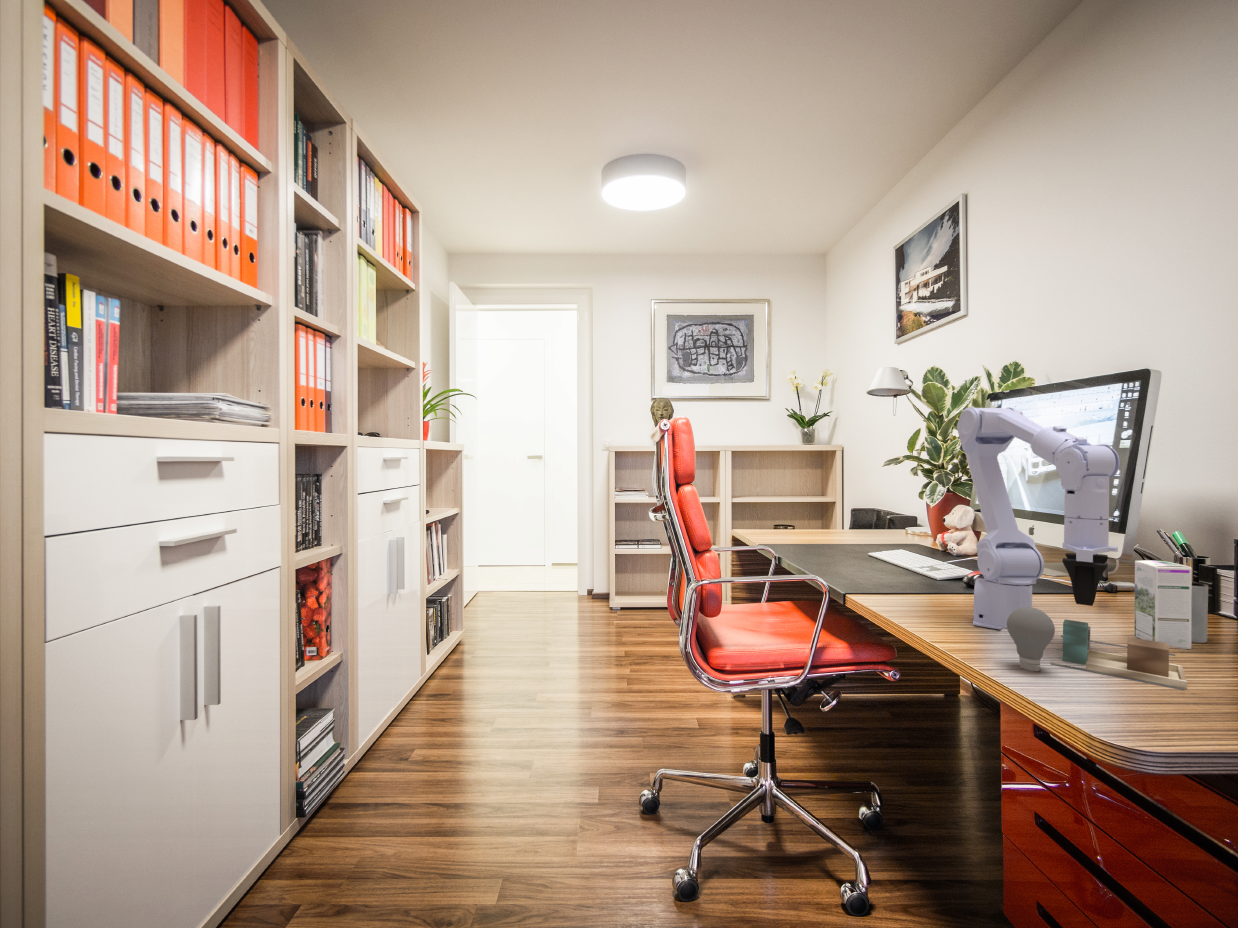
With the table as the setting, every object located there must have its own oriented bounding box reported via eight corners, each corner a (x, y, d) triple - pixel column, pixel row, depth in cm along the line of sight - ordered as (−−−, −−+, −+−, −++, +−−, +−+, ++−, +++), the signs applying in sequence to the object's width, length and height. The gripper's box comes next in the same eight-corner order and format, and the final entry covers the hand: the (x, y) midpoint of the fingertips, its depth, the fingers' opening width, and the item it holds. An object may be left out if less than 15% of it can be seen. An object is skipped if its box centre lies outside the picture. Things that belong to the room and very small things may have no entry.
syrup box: (1193, 649, 101) (1195, 566, 100) (1153, 647, 102) (1155, 564, 102) (1169, 639, 106) (1170, 560, 106) (1131, 637, 107) (1133, 559, 107)
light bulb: (1045, 668, 91) (1046, 604, 91) (1060, 682, 85) (1061, 614, 85) (1000, 663, 93) (1002, 601, 92) (1012, 676, 87) (1013, 610, 87)
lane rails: (1050, 668, 91) (1050, 663, 91) (1060, 639, 106) (1060, 635, 106) (1184, 695, 81) (1184, 689, 81) (1174, 658, 96) (1175, 654, 96)
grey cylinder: (1165, 635, 109) (1166, 580, 109) (1187, 635, 109) (1188, 580, 109) (1191, 643, 104) (1192, 586, 104) (1214, 642, 105) (1215, 585, 104)
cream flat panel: (1065, 653, 98) (1066, 630, 98) (1069, 642, 104) (1069, 619, 104) (1176, 674, 89) (1177, 648, 89) (1173, 659, 95) (1173, 635, 95)
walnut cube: (1127, 673, 87) (1127, 643, 87) (1126, 665, 90) (1127, 636, 90) (1168, 681, 84) (1169, 650, 84) (1166, 672, 87) (1167, 643, 87)
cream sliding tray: (1061, 668, 90) (1061, 626, 90) (1065, 654, 97) (1065, 615, 97) (1186, 692, 81) (1187, 646, 81) (1181, 676, 88) (1182, 633, 88)
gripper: (1118, 522, 87) (1117, 612, 88) (1117, 516, 99) (1116, 596, 99) (1060, 519, 92) (1059, 605, 92) (1065, 513, 103) (1064, 590, 103)
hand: (1085, 600), depth 96 cm, fingers open, 7 cm apart
